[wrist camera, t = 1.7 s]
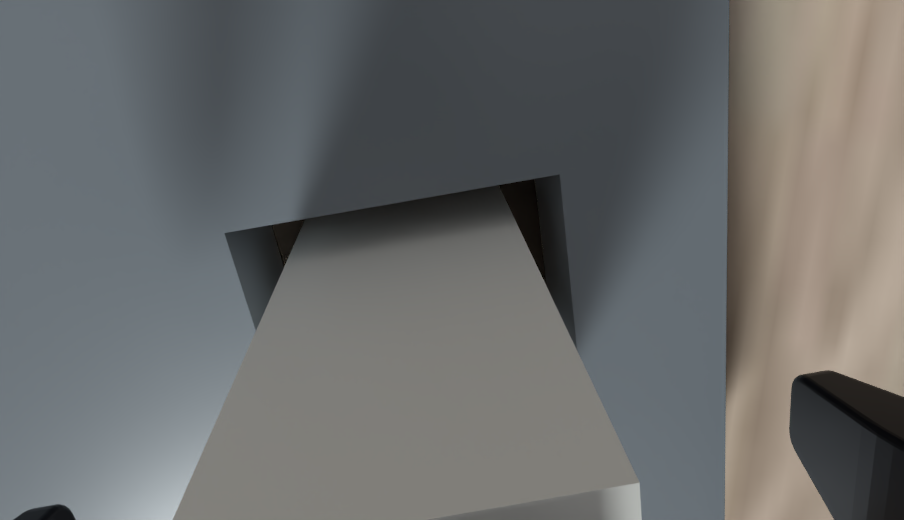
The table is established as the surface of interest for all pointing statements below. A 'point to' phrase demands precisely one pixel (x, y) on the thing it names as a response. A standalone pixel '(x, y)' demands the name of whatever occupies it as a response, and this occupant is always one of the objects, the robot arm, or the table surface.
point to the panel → (343, 209)
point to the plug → (413, 383)
